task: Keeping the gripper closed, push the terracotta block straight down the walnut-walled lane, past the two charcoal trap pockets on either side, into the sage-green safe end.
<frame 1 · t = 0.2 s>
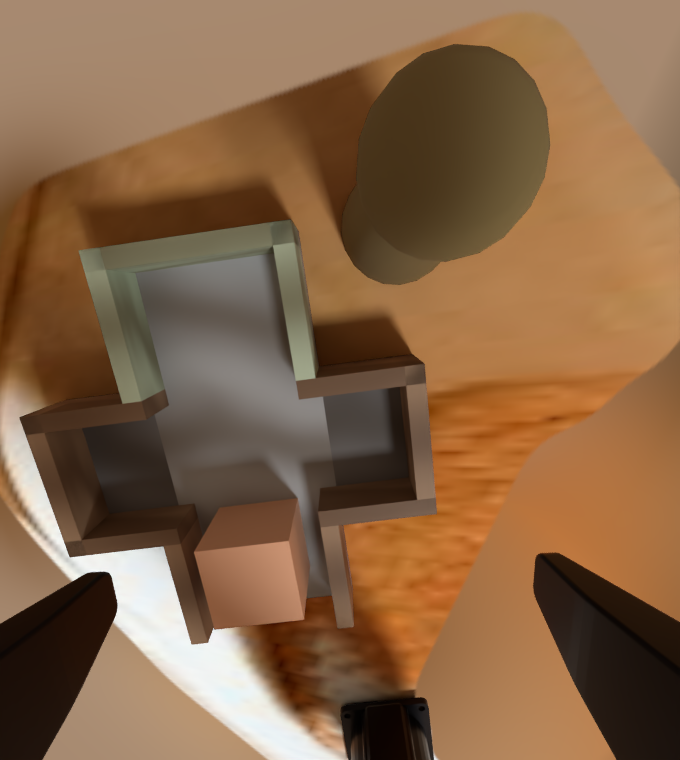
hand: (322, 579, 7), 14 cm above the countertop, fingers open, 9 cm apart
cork: (396, 227, 19), on the countertop
block: (265, 537, 23), point 1 cm above the countertop, touching trap lane
trap lane: (250, 447, 22), on the countertop
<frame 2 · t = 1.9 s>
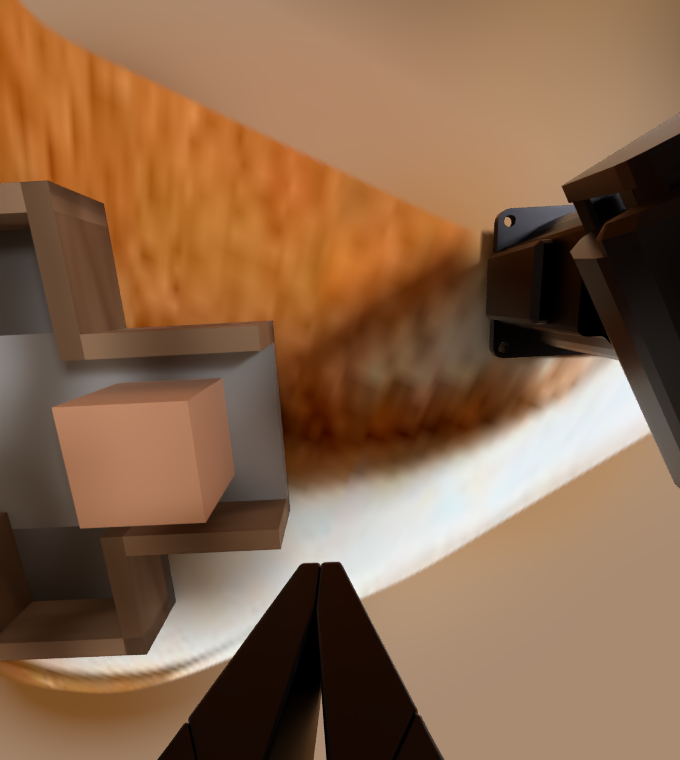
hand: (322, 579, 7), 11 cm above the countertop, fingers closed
block: (178, 430, 17), point 1 cm above the countertop, touching trap lane
trap lane: (66, 431, 18), on the countertop
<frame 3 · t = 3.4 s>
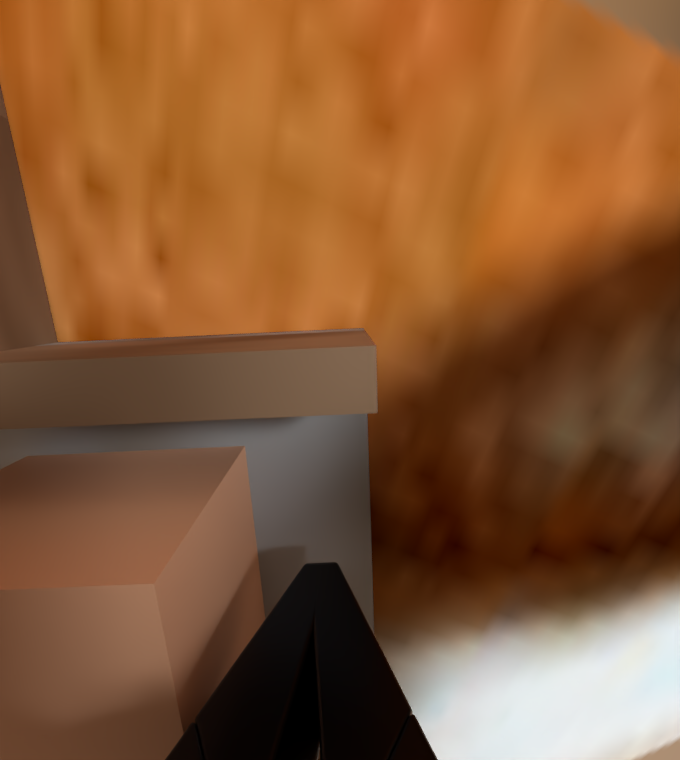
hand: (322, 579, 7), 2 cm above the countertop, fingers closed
block: (153, 546, 9), point 1 cm above the countertop, touching gripper, trap lane
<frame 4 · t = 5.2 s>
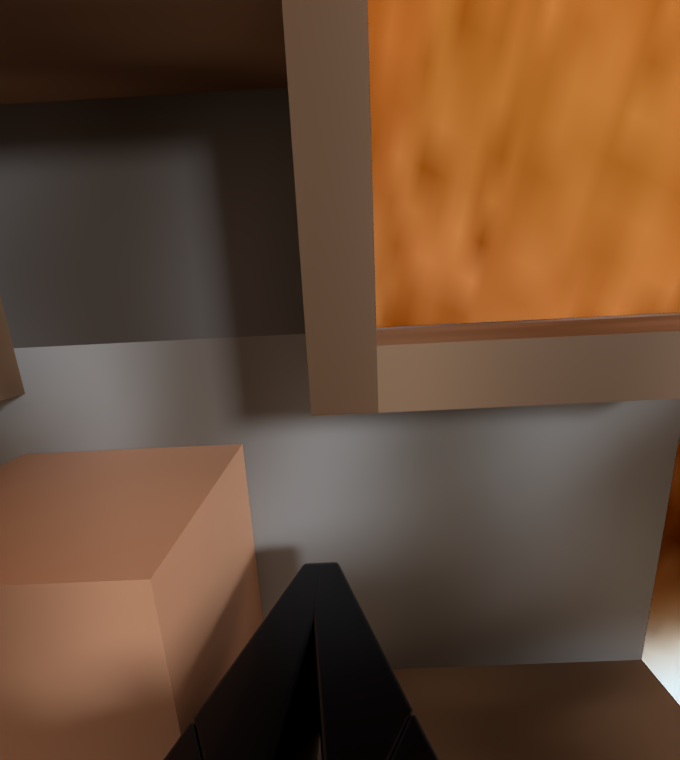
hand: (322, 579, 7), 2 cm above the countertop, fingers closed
block: (151, 545, 9), point 1 cm above the countertop, touching gripper
trap lane: (215, 529, 9), on the countertop
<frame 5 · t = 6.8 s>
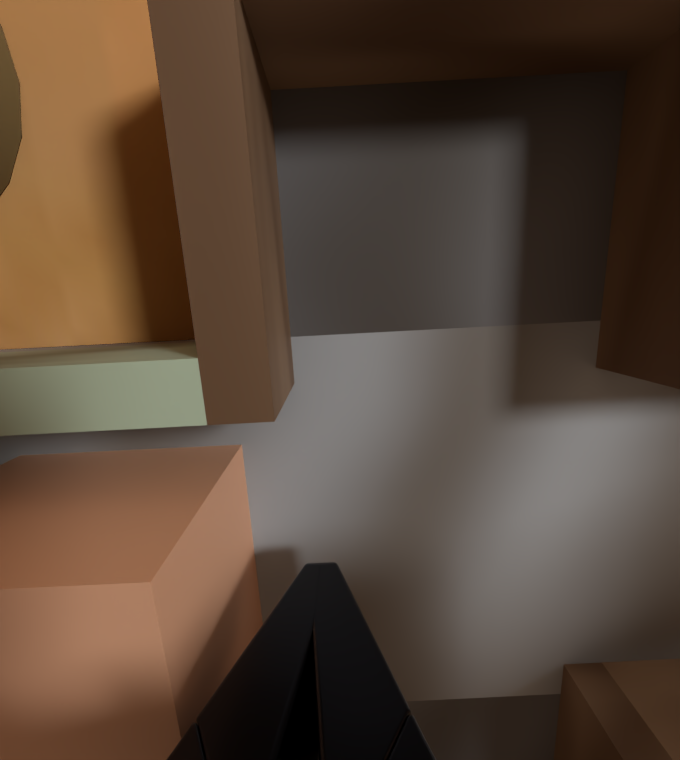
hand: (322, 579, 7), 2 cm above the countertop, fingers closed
block: (149, 546, 9), point 1 cm above the countertop, touching gripper, trap lane
trap lane: (445, 522, 9), on the countertop
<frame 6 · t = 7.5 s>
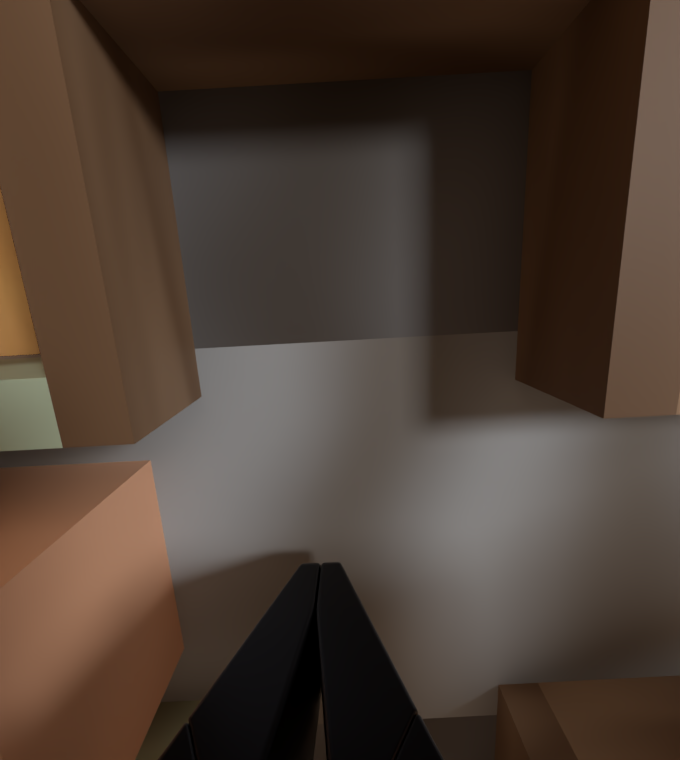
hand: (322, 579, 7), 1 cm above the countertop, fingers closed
block: (60, 565, 8), point 1 cm above the countertop, touching trap lane
trap lane: (373, 538, 9), on the countertop
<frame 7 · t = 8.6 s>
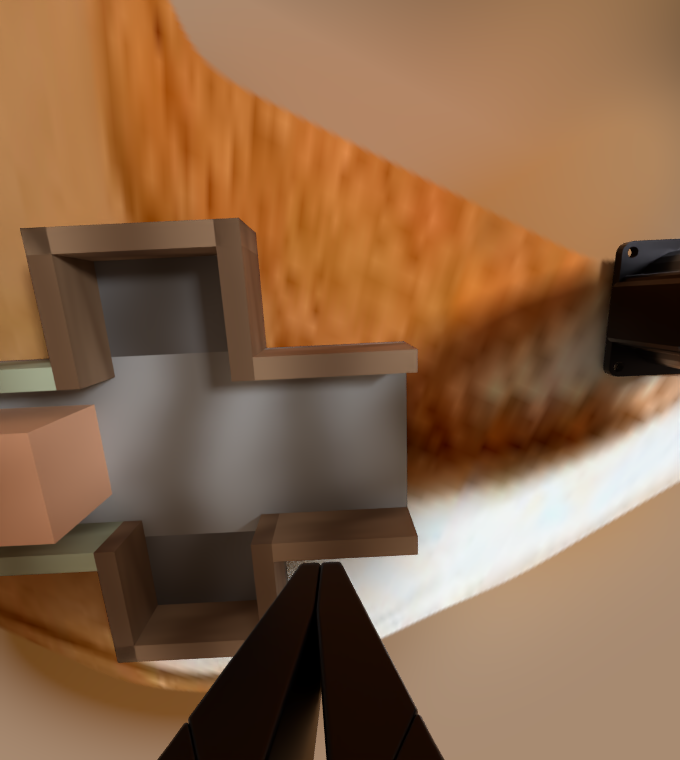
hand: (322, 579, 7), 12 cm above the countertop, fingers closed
block: (55, 452, 18), point 1 cm above the countertop, touching trap lane
trap lane: (200, 444, 19), on the countertop
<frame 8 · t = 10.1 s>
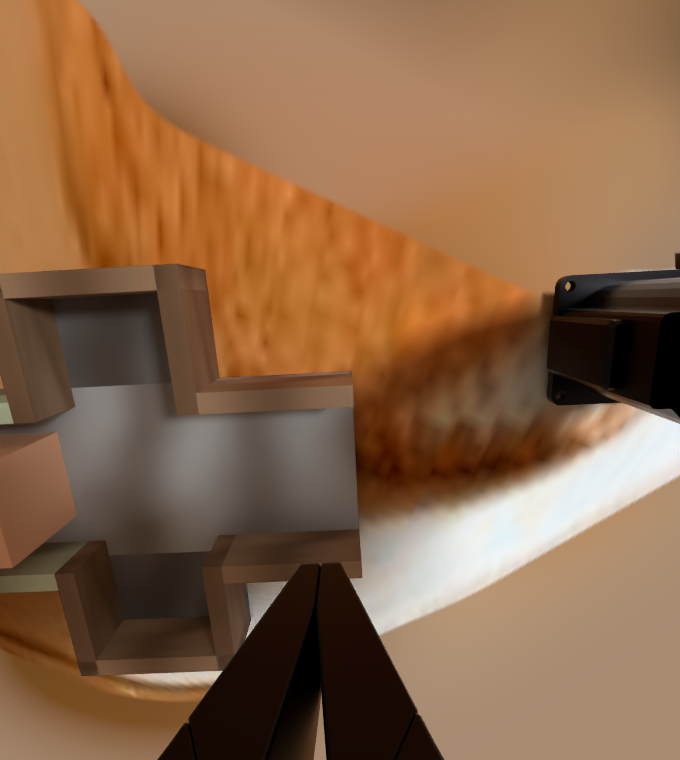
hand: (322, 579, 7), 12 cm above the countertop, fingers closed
block: (22, 477, 19), point 1 cm above the countertop, touching trap lane
trap lane: (160, 468, 20), on the countertop
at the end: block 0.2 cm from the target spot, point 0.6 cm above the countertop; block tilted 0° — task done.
